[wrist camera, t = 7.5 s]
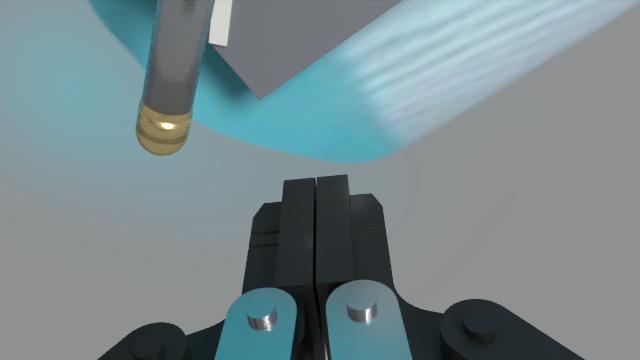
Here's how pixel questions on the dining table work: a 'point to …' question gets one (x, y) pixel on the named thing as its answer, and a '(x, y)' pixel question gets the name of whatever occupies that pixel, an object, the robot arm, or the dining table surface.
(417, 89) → the dining table surface
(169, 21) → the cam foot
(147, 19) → the dining table surface
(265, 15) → the switch base
